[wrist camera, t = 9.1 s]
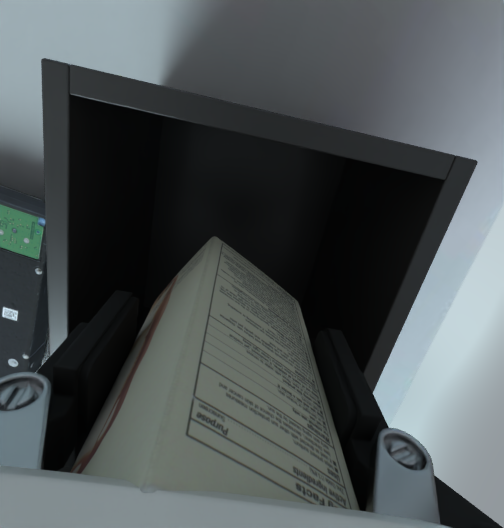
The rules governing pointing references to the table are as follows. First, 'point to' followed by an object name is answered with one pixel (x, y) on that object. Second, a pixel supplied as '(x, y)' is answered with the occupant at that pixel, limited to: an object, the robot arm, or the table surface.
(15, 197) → the disk drive
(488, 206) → the table surface
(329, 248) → the case
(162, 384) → the cream medicine box
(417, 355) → the table surface
